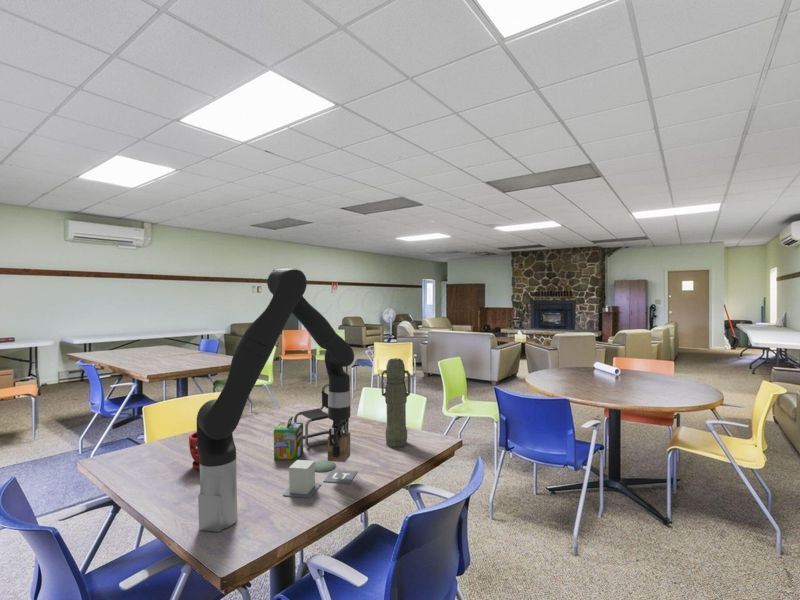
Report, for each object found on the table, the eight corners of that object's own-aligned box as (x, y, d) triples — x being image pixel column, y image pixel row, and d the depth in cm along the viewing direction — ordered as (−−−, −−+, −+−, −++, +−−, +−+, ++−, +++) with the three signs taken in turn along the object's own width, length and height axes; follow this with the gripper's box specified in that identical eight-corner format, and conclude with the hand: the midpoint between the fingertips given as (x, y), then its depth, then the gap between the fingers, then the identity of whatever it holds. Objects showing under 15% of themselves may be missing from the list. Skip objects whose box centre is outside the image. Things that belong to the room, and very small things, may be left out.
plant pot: (236, 459, 157) (235, 428, 157) (211, 474, 144) (211, 440, 144) (207, 456, 161) (206, 425, 160) (181, 470, 148) (180, 437, 148)
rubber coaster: (330, 472, 144) (330, 471, 144) (306, 471, 146) (306, 470, 146) (339, 462, 153) (339, 461, 153) (316, 460, 155) (316, 459, 155)
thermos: (411, 447, 167) (410, 360, 166) (382, 448, 167) (381, 361, 166) (410, 439, 176) (409, 357, 175) (382, 440, 175) (381, 357, 175)
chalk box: (281, 450, 166) (280, 413, 165) (304, 450, 165) (303, 413, 165) (273, 460, 156) (272, 421, 156) (297, 460, 156) (296, 421, 156)
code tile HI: (310, 498, 127) (310, 497, 127) (282, 495, 128) (282, 494, 128) (321, 484, 136) (321, 483, 136) (295, 482, 137) (295, 481, 137)
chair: (344, 439, 177) (343, 388, 177) (306, 448, 167) (305, 394, 167) (330, 431, 188) (330, 382, 188) (294, 439, 178) (293, 388, 177)
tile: (349, 483, 136) (349, 482, 136) (323, 481, 138) (323, 480, 138) (357, 472, 145) (357, 471, 145) (332, 470, 146) (332, 469, 146)
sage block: (307, 494, 128) (307, 468, 128) (289, 492, 130) (289, 467, 129) (315, 485, 134) (314, 460, 134) (297, 484, 135) (297, 459, 135)
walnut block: (344, 462, 137) (345, 438, 137) (327, 461, 138) (327, 437, 138) (350, 455, 143) (350, 432, 143) (333, 454, 144) (333, 431, 144)
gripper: (343, 410, 133) (343, 462, 133) (356, 399, 147) (355, 446, 147) (321, 409, 134) (321, 460, 134) (335, 398, 148) (335, 445, 149)
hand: (339, 453), depth 141 cm, fingers closed on walnut block, 6 cm apart
